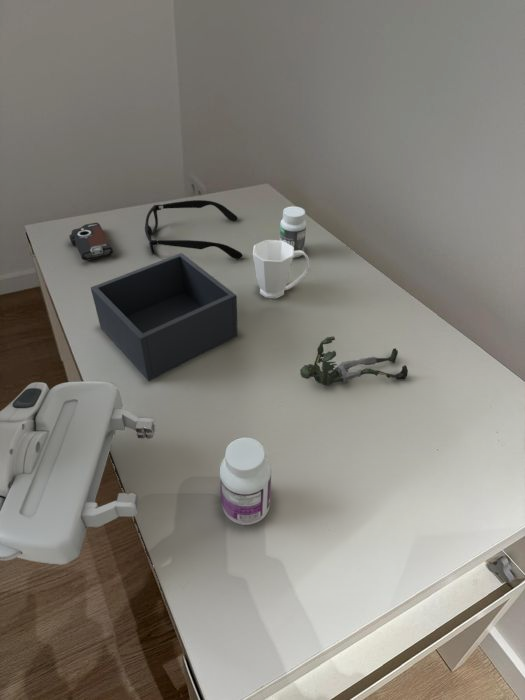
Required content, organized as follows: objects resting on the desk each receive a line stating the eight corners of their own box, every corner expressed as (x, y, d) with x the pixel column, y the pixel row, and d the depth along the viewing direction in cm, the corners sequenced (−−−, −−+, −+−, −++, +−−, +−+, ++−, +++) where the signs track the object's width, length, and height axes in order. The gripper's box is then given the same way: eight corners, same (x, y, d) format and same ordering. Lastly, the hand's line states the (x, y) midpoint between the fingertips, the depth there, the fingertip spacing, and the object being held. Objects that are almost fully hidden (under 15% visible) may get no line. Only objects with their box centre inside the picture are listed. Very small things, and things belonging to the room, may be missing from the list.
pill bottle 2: (273, 251, 98) (275, 210, 92) (292, 243, 100) (294, 202, 94) (290, 261, 95) (293, 220, 89) (309, 253, 97) (312, 212, 92)
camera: (75, 252, 91) (64, 226, 99) (80, 265, 93) (69, 239, 101) (110, 242, 93) (97, 217, 101) (114, 255, 95) (101, 230, 103)
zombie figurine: (416, 346, 68) (306, 363, 65) (405, 382, 72) (303, 398, 70) (399, 320, 72) (295, 335, 69) (391, 356, 76) (293, 370, 74)
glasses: (151, 224, 106) (147, 202, 103) (237, 218, 107) (235, 195, 104) (146, 268, 94) (141, 244, 91) (243, 261, 95) (241, 236, 91)
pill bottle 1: (238, 476, 60) (237, 423, 54) (278, 497, 58) (281, 445, 52) (212, 512, 57) (207, 460, 50) (253, 535, 55) (253, 484, 48)
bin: (148, 381, 72) (140, 338, 66) (100, 328, 80) (90, 287, 75) (237, 336, 79) (236, 295, 74) (185, 292, 87) (181, 252, 82)
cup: (246, 283, 90) (246, 242, 84) (300, 274, 92) (303, 233, 87) (258, 306, 85) (259, 264, 79) (315, 296, 87) (319, 255, 82)
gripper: (-46, 541, 43) (117, 545, 43) (37, 371, 59) (158, 374, 59) (-20, 574, 48) (129, 578, 48) (51, 408, 63) (164, 410, 63)
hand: (146, 464), depth 53 cm, fingers open, 8 cm apart
